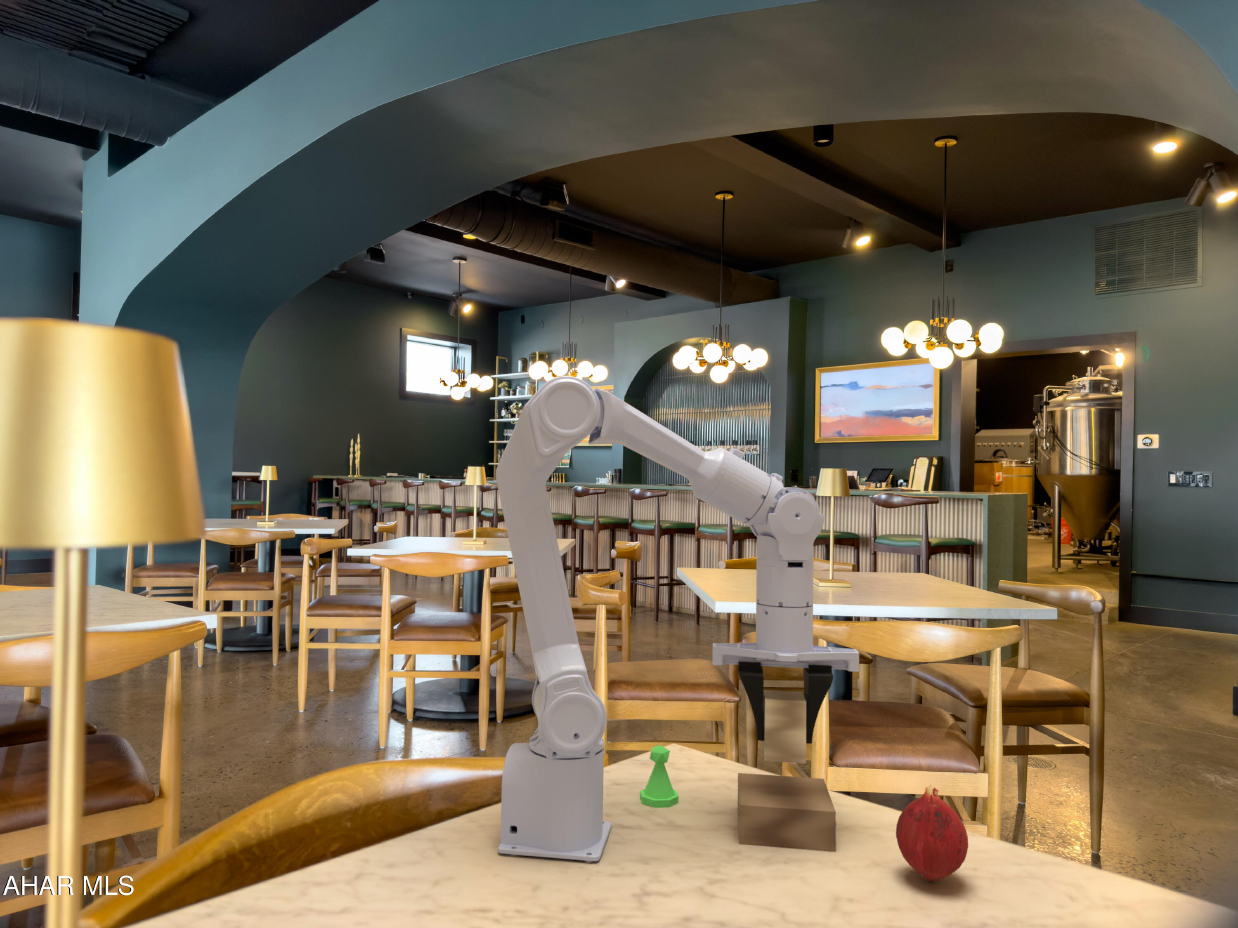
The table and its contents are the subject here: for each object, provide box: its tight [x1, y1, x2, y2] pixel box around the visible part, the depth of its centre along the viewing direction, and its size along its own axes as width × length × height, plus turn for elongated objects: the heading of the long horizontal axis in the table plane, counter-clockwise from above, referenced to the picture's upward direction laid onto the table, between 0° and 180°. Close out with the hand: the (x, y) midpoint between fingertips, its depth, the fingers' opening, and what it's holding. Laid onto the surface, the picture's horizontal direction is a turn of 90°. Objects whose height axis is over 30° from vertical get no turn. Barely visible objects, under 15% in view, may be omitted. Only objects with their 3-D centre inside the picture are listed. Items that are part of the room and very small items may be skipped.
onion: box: [895, 784, 969, 883], centre depth 66 cm, size 6×6×8 cm
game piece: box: [639, 744, 679, 809], centre depth 83 cm, size 4×4×6 cm
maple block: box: [762, 689, 807, 764], centre depth 77 cm, size 4×4×6 cm
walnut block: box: [737, 772, 837, 853], centre depth 77 cm, size 9×9×4 cm
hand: (783, 739), depth 77 cm, fingers closed on maple block, 4 cm apart
